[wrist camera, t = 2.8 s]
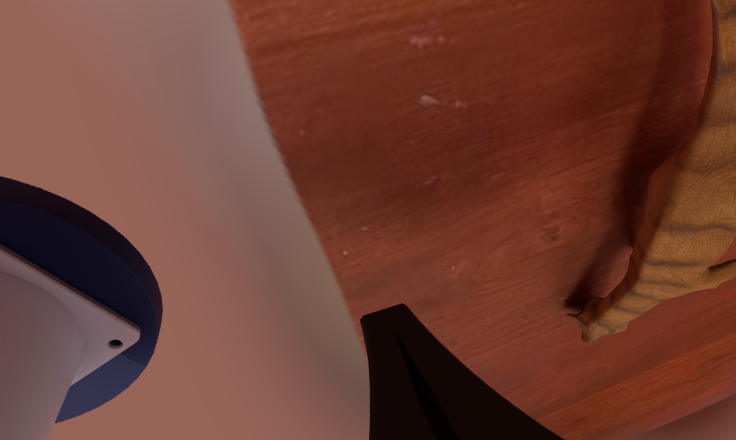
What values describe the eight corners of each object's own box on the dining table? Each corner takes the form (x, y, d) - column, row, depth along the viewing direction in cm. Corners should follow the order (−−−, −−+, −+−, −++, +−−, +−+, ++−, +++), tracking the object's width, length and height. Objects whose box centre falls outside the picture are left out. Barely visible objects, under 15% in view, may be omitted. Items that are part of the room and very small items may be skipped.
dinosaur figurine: (676, 280, 25) (518, 335, 24) (880, -196, 13) (571, -146, 11) (796, 363, 20) (600, 442, 18) (1365, -335, 7) (888, -273, 6)
